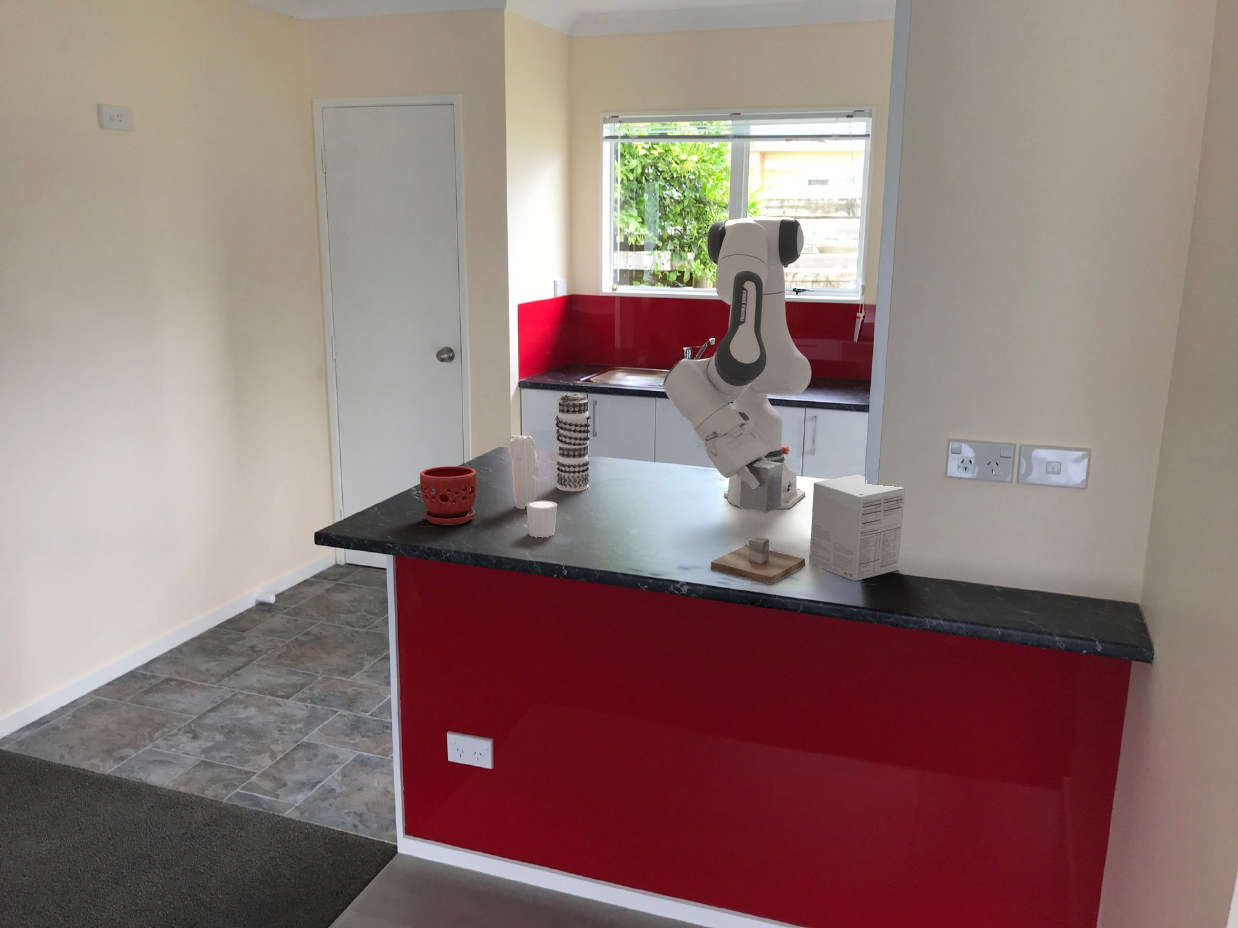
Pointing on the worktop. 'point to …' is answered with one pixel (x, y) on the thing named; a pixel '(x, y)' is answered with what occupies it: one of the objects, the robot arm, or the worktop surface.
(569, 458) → the decorative candle
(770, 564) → the tang block
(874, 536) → the supplement box
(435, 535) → the worktop surface
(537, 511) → the white short cylinder
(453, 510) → the plant pot
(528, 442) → the white figurine
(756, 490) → the grey rectangular block
